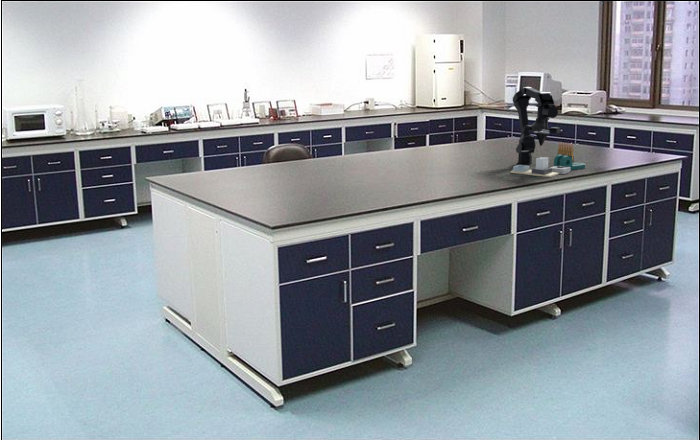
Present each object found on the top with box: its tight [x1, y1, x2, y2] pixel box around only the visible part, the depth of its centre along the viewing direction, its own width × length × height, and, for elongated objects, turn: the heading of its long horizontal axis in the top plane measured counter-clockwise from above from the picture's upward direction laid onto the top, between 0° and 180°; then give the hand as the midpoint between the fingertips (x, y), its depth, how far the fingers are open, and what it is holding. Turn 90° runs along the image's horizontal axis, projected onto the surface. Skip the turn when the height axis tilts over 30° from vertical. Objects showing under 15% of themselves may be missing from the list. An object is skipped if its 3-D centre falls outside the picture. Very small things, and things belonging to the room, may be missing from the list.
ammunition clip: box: [556, 141, 575, 163], centre depth 398 cm, size 11×2×12 cm, turn 33°
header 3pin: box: [512, 164, 531, 172], centre depth 376 cm, size 6×7×2 cm
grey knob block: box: [550, 165, 572, 175], centre depth 374 cm, size 8×8×3 cm
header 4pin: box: [531, 167, 552, 175], centre depth 368 cm, size 7×9×2 cm
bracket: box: [553, 154, 586, 171], centre depth 383 cm, size 18×7×8 cm, turn 118°
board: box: [510, 169, 559, 178], centre depth 371 cm, size 22×10×1 cm, turn 50°
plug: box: [535, 156, 550, 170], centre depth 368 cm, size 4×7×7 cm, turn 141°
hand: (541, 145), depth 382 cm, fingers closed
